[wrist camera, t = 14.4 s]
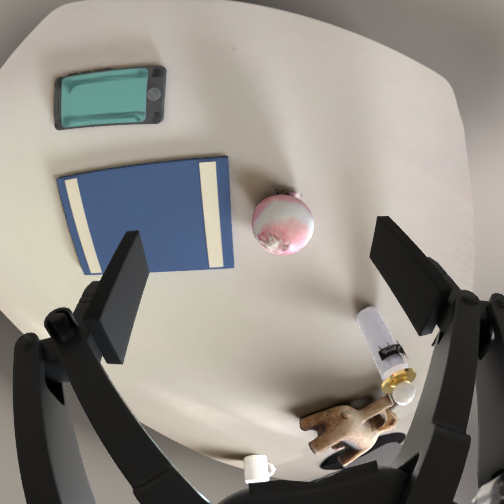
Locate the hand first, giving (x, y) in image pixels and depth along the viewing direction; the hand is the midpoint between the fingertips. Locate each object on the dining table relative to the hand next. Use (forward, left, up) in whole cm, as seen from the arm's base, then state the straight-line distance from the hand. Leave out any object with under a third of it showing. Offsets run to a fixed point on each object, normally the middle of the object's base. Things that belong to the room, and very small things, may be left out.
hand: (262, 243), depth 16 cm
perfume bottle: (-22, +29, -23) cm, 43 cm away
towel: (+14, +8, -23) cm, 28 cm away
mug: (-2, +99, -23) cm, 102 cm away
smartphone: (+16, -9, -23) cm, 30 cm away
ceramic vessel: (-30, +72, -23) cm, 81 cm away
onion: (-5, +8, -23) cm, 25 cm away
